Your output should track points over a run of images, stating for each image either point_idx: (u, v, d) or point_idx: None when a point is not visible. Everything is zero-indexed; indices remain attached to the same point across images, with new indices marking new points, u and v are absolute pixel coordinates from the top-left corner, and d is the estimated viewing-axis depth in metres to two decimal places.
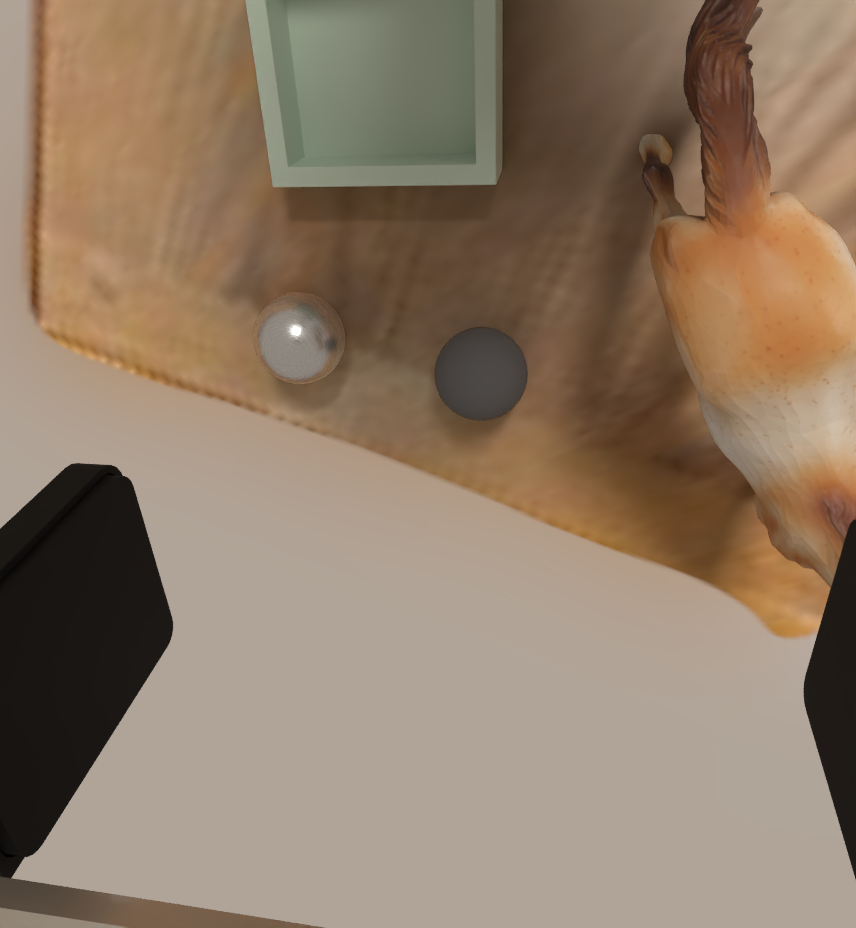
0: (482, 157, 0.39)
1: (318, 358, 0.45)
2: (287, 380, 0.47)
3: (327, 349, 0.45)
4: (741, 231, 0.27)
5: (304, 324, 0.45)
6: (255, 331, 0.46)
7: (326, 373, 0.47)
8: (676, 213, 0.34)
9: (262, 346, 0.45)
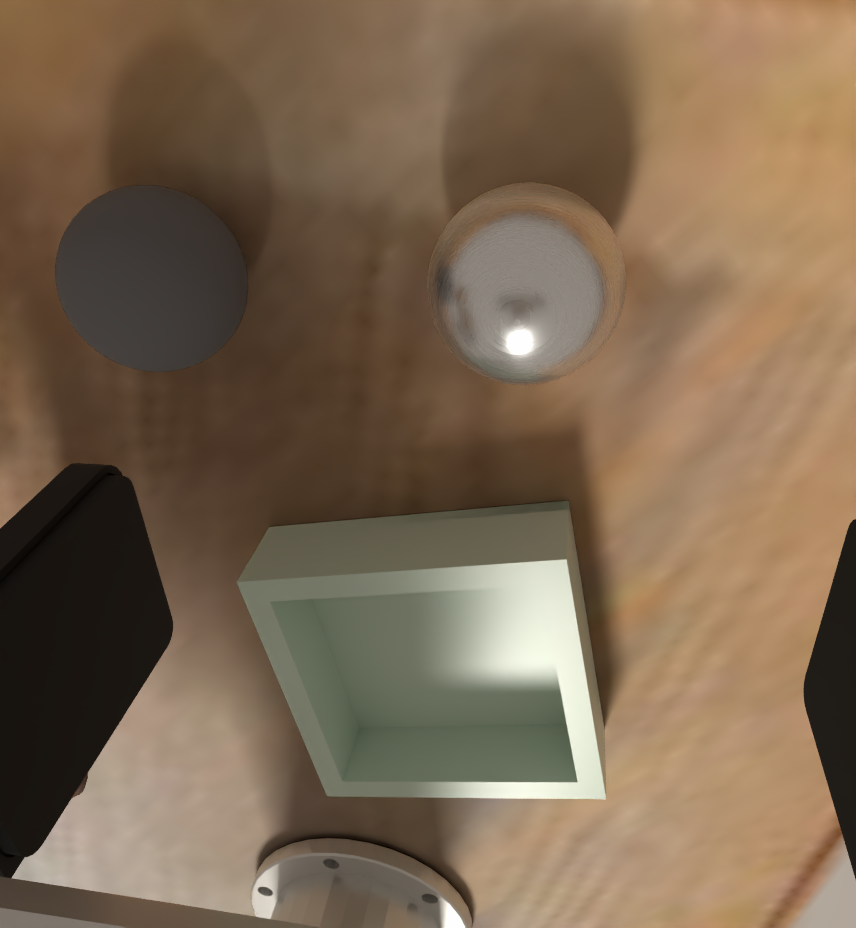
0: (264, 609, 0.29)
1: (450, 309, 0.20)
2: (524, 234, 0.19)
3: (439, 319, 0.21)
4: None
5: (488, 372, 0.21)
6: (607, 326, 0.21)
7: (443, 246, 0.21)
8: None
9: (580, 320, 0.20)
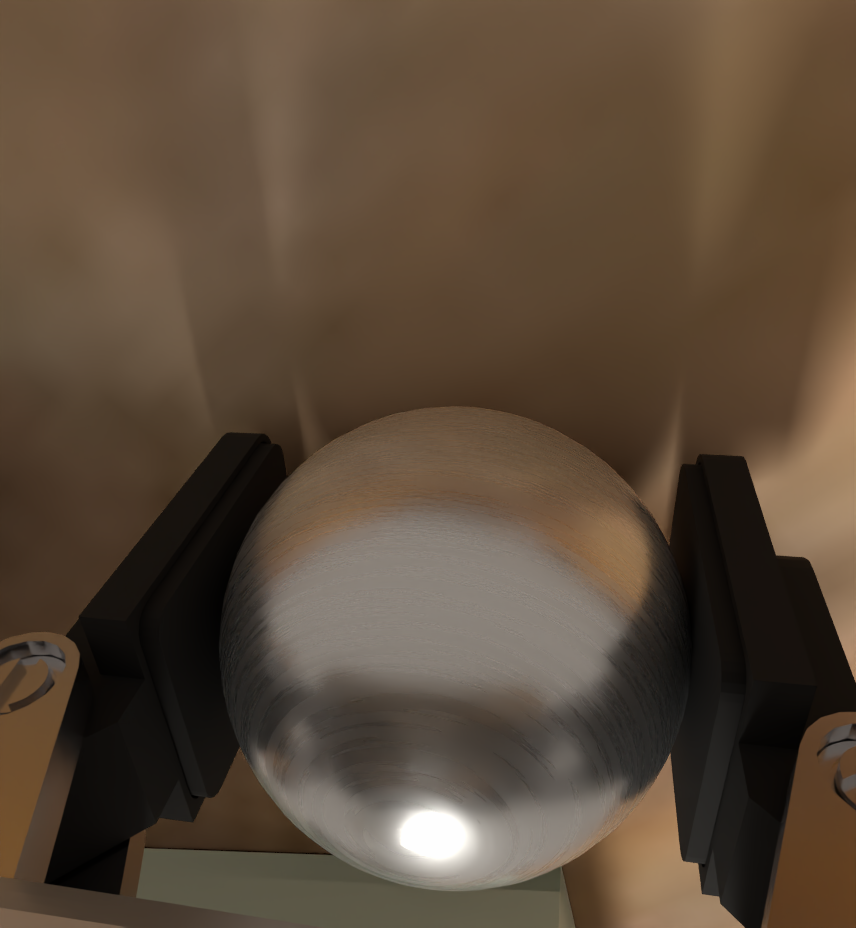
0: None
1: (251, 755, 0.08)
2: (422, 624, 0.07)
3: None
4: None
5: None
6: (648, 787, 0.08)
7: (237, 589, 0.08)
8: None
9: (581, 825, 0.07)
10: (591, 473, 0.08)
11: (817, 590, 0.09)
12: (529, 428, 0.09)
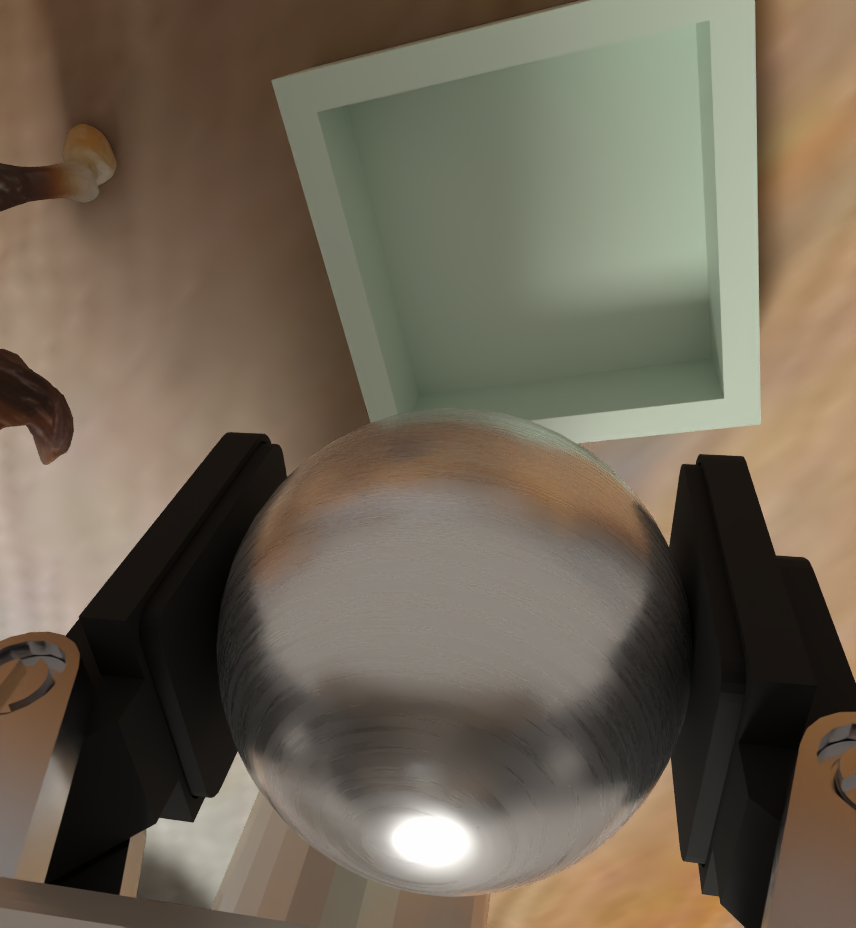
0: (308, 127, 0.21)
1: (248, 760, 0.08)
2: (420, 628, 0.07)
3: None
4: None
5: None
6: (649, 792, 0.08)
7: (235, 593, 0.08)
8: None
9: (581, 831, 0.07)
10: (591, 475, 0.08)
11: (817, 590, 0.09)
12: (529, 430, 0.08)
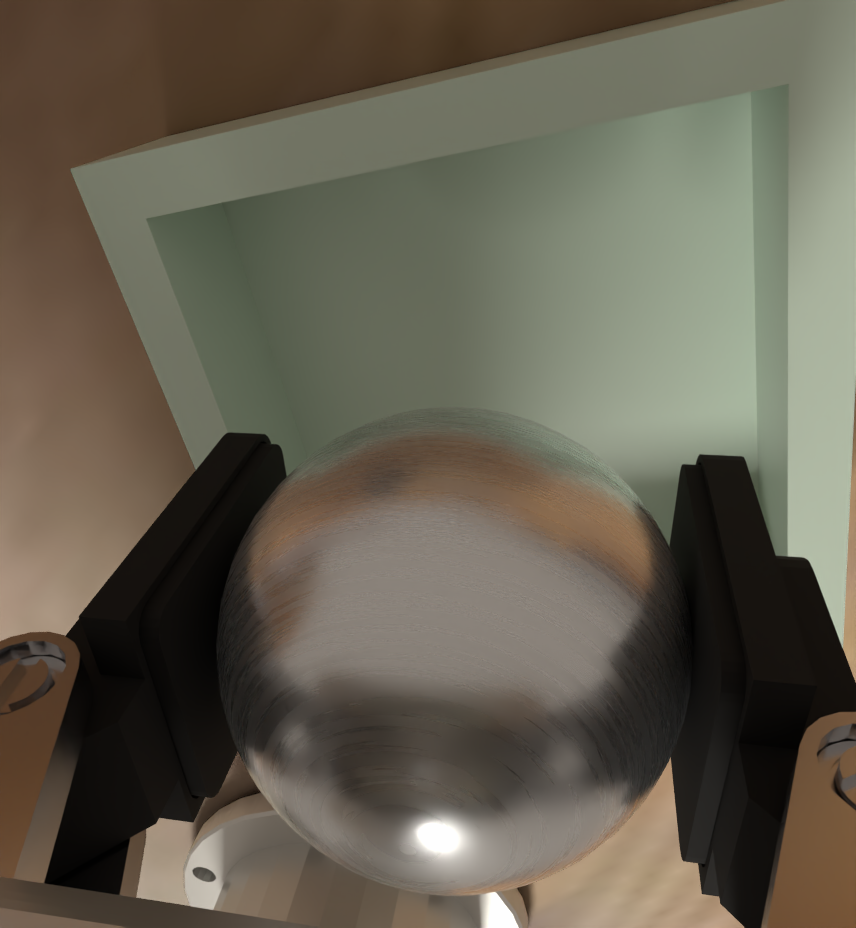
0: (136, 241, 0.13)
1: (248, 759, 0.08)
2: (420, 627, 0.07)
3: None
4: None
5: None
6: (649, 791, 0.08)
7: (234, 591, 0.08)
8: None
9: (581, 830, 0.07)
10: (591, 474, 0.08)
11: (817, 590, 0.09)
12: (529, 429, 0.08)
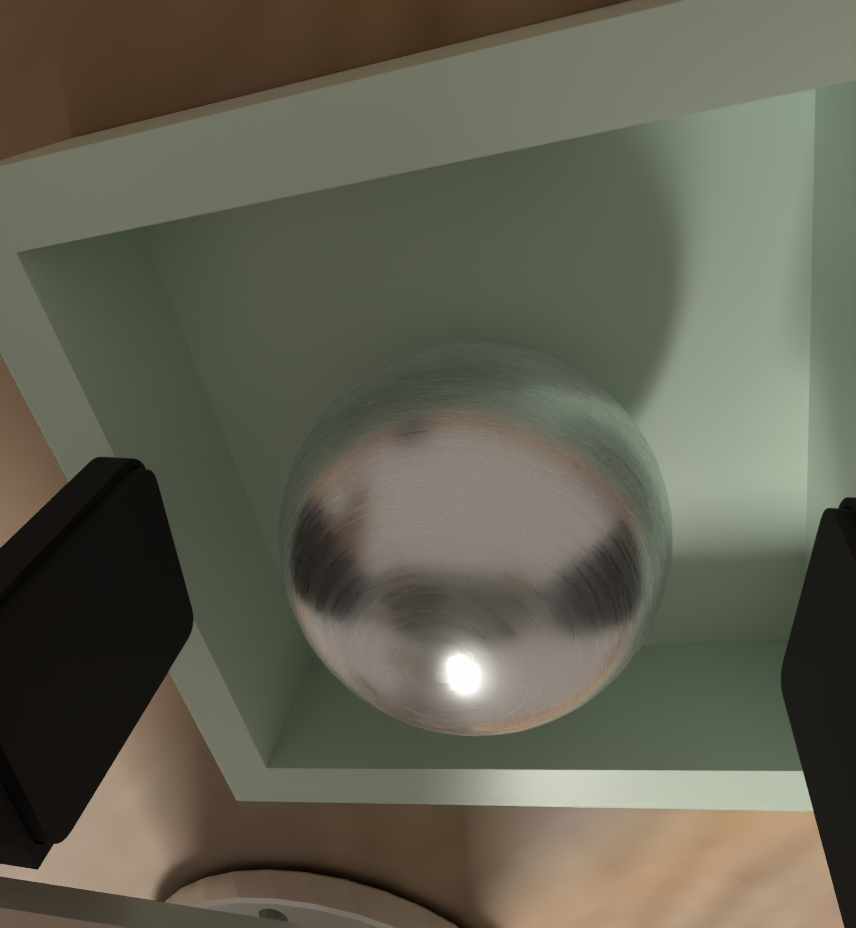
0: (7, 281, 0.10)
1: (308, 619, 0.10)
2: (453, 495, 0.09)
3: None
4: None
5: None
6: (636, 648, 0.10)
7: (297, 484, 0.10)
8: None
9: (579, 666, 0.09)
10: (589, 389, 0.10)
11: None
12: (537, 354, 0.10)
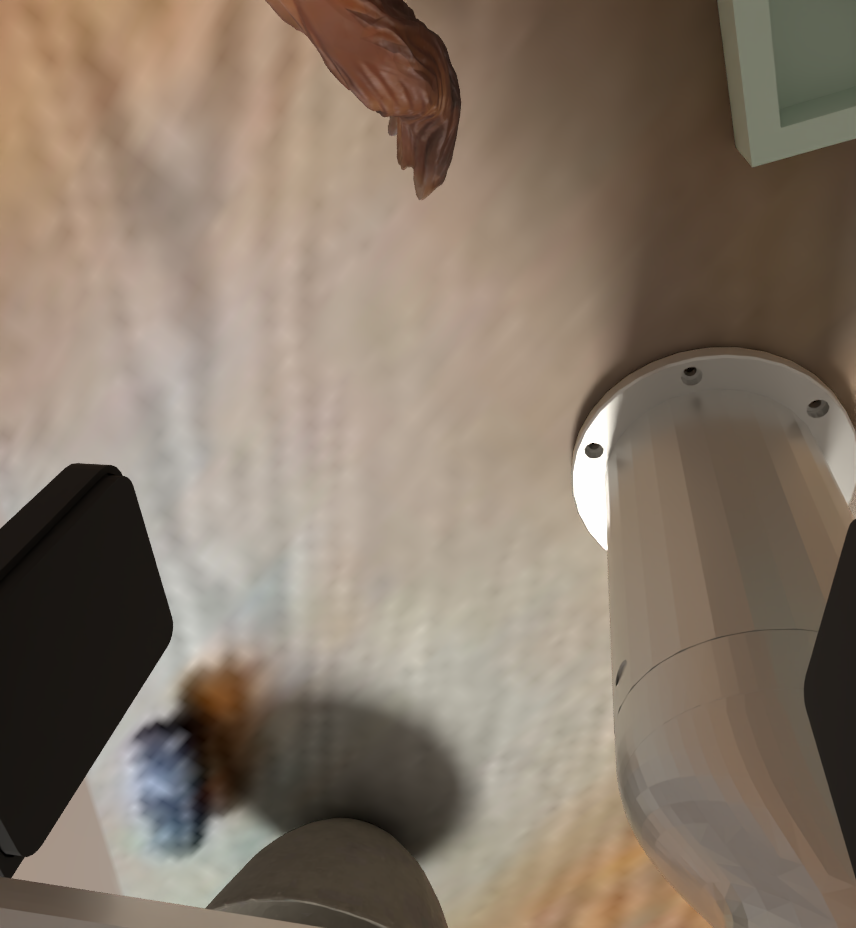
0: None
1: None
2: None
3: None
4: None
5: None
6: None
7: None
8: None
9: None
10: None
11: None
12: None
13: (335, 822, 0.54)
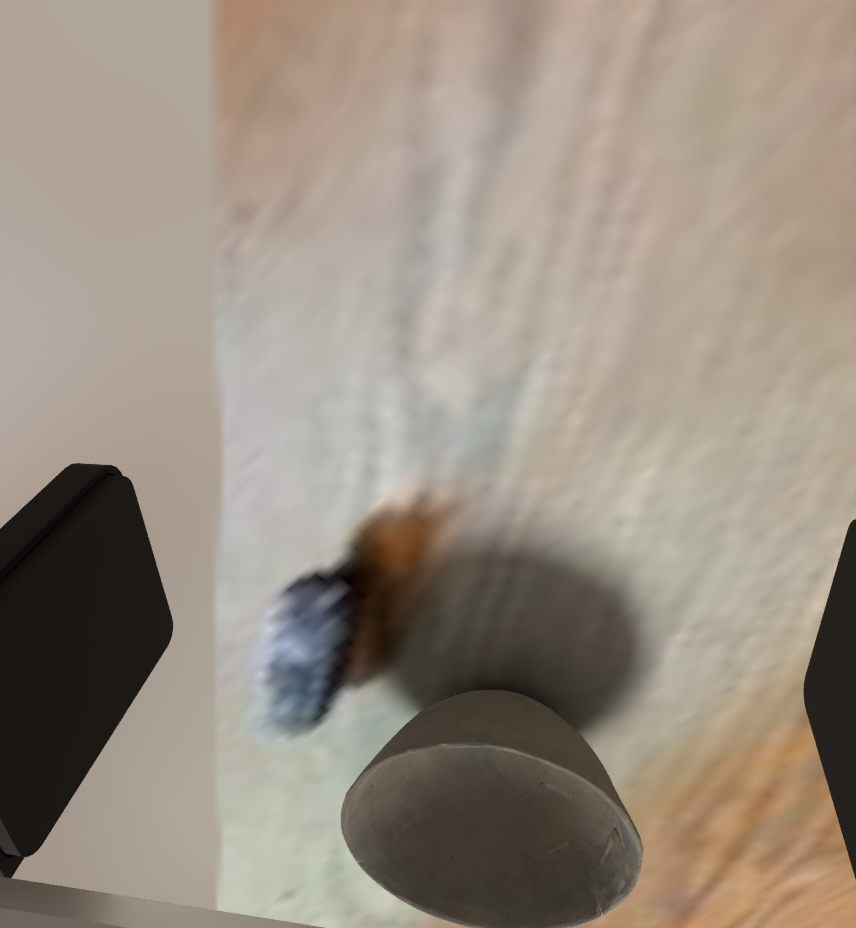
0: None
1: None
2: None
3: None
4: None
5: None
6: None
7: None
8: None
9: None
10: None
11: None
12: None
13: (498, 690, 0.52)
